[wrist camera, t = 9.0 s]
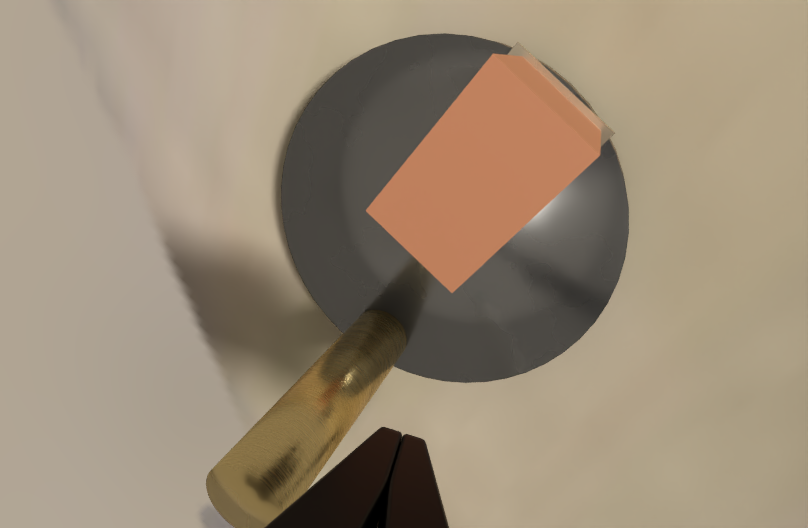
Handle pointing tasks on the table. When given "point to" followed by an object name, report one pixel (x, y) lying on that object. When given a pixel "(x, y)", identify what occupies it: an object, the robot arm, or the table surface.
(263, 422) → the metal plate with post
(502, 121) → the link block
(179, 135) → the table surface
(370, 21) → the table surface
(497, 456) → the table surface
